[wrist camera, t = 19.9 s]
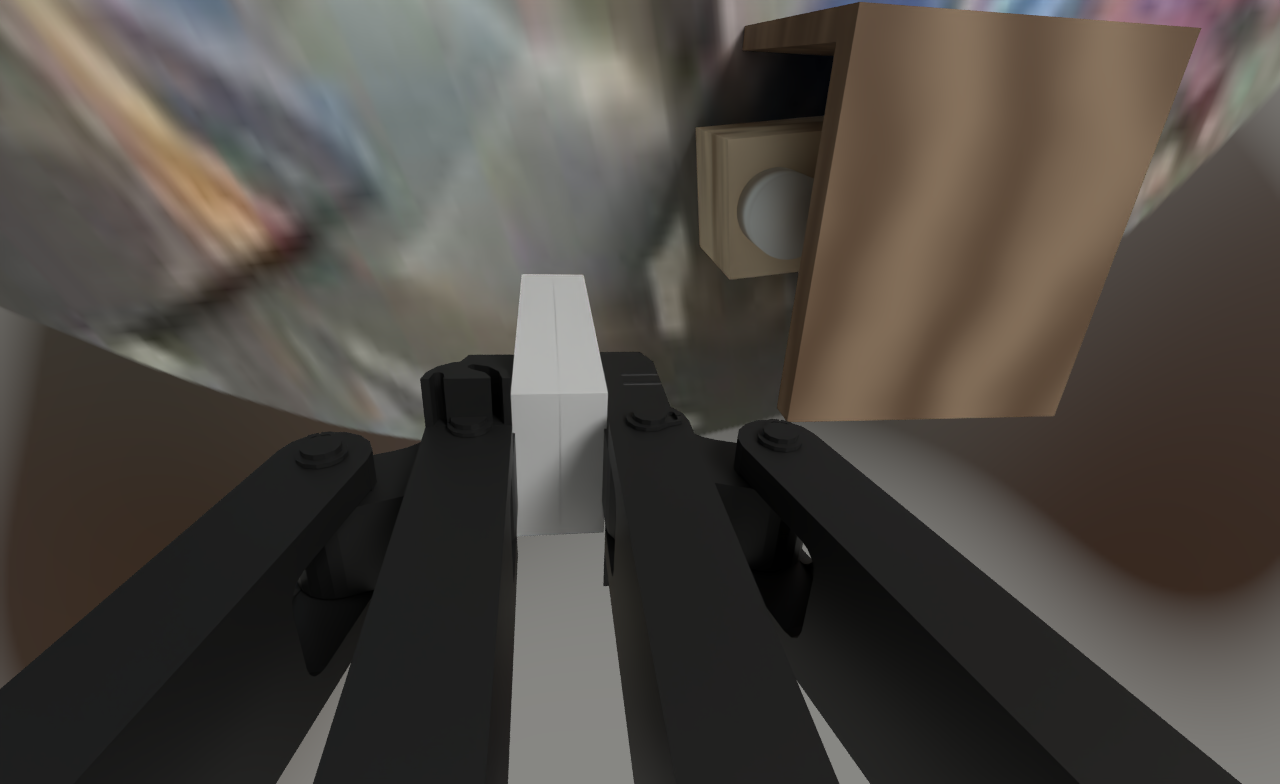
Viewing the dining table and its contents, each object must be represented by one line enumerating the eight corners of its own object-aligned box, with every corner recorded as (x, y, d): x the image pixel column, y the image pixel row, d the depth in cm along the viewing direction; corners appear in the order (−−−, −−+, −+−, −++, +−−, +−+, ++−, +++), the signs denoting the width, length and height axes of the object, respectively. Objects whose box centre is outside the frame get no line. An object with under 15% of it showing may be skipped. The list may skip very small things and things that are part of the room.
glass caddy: (699, 245, 41) (742, 294, 32) (695, 127, 38) (742, 144, 29) (850, 229, 42) (933, 271, 33) (858, 112, 39) (953, 124, 30)
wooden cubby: (713, 317, 43) (787, 421, 30) (744, 26, 36) (859, 1, 23) (908, 317, 45) (1054, 415, 32) (976, 41, 38) (1201, 28, 25)
